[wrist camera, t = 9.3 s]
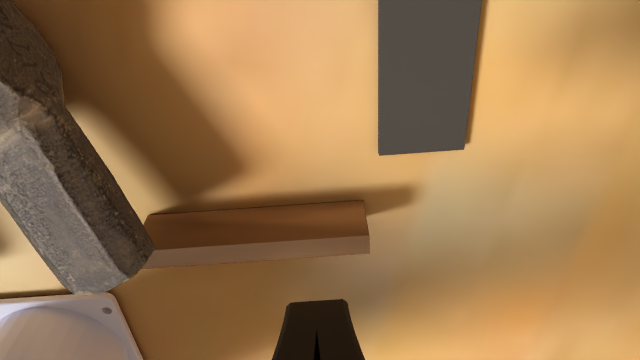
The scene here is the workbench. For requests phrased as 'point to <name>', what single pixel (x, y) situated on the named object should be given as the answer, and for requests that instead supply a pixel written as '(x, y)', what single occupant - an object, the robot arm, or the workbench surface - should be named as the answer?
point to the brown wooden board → (257, 234)
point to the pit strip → (425, 73)
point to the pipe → (59, 172)
